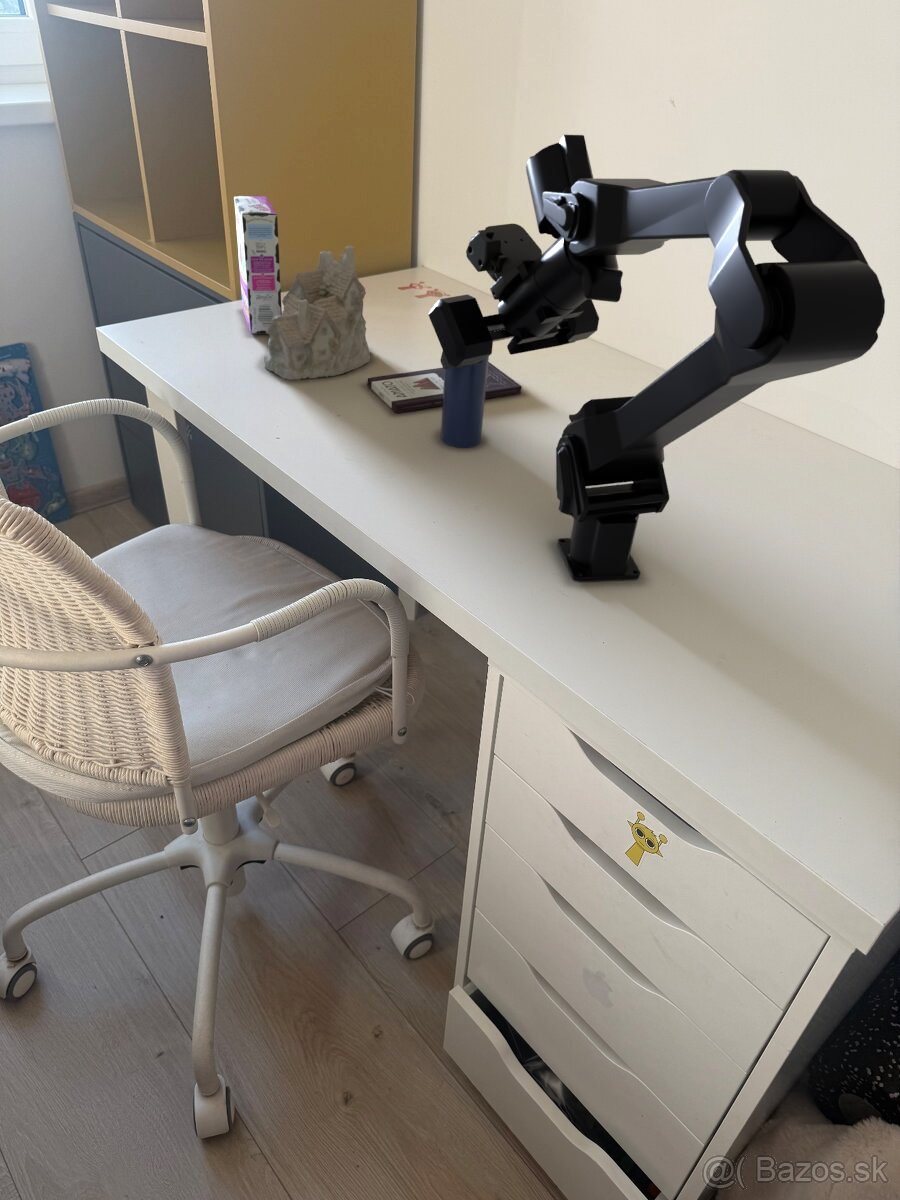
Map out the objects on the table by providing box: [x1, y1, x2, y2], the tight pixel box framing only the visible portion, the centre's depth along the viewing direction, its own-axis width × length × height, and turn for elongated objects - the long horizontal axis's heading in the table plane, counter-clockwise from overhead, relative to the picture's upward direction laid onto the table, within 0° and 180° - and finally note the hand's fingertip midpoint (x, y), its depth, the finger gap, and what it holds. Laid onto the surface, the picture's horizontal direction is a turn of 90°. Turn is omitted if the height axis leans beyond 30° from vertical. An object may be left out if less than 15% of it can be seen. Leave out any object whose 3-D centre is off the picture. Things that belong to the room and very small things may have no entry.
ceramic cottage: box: [263, 245, 371, 381], centre depth 111 cm, size 16×16×15 cm
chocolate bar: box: [367, 361, 522, 414], centre depth 108 cm, size 9×1×18 cm
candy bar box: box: [233, 195, 283, 335], centre depth 119 cm, size 11×5×16 cm, turn 17°
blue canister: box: [440, 356, 490, 449], centre depth 94 cm, size 5×5×13 cm
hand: (477, 357), depth 90 cm, fingers open, 9 cm apart
